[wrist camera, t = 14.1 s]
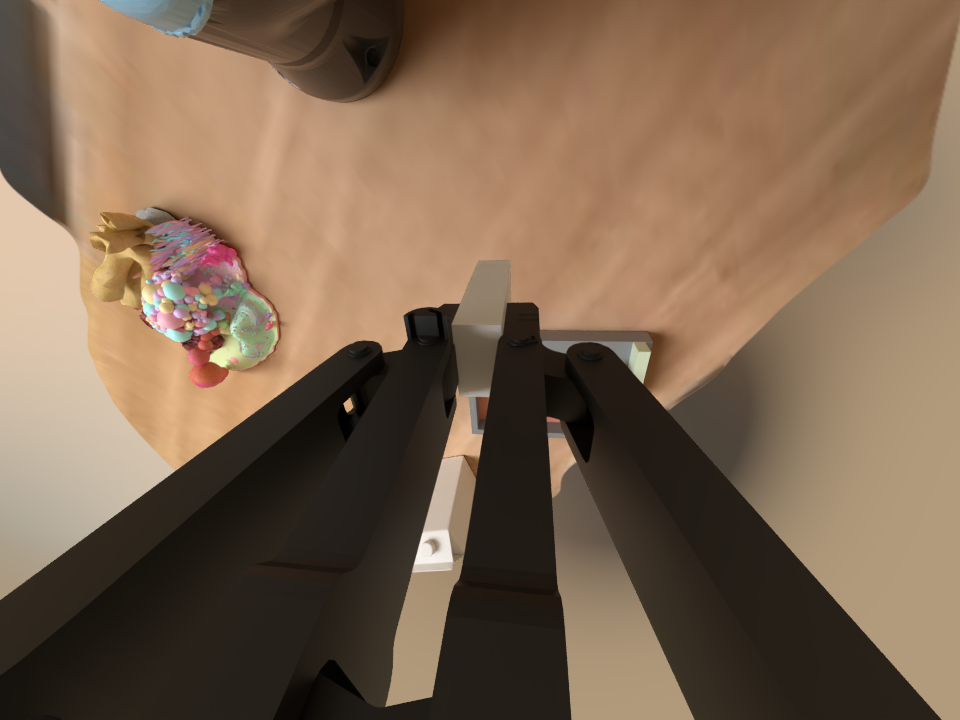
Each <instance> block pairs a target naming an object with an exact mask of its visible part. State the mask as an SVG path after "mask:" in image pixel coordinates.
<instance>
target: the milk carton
mask: <svg viewBox="0 0 960 720" xmlns="http://www.w3.org/2000/svg"><path fill="white" fill-rule="evenodd" d="M475 483H476V478H475V476H474V474H473V473H472V471H471V469H470V467H469V465H468V463H467V461H466V459H465V458H464V456H456V457H450V458H444V459H442V462H441V466H440V469H439V473H438V477H437V481H436V484H435V488H434V492H433V496H432V499H431V503H430V507H429V510H428V514H427V518H426V522H425V525H424V529H423V533H422V537H421V540H420V544H419V548H418V551H417V555H416V559H415V563H414V566H413V570H412V572H427V571H443V570H452V568H453V563H454V562H455V561H456V560H458V559H459V558H461V557H462V556H464V553H465V546H466V540H467V534H468V527H469V521H470V515H471V509H472V502H473V496H474V490H475Z"/></svg>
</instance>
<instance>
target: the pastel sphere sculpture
mask: <svg viewBox="0 0 960 720" xmlns="http://www.w3.org/2000/svg"><path fill="white" fill-rule="evenodd" d="M100 216H101V218H102V220H103V222H104V224H106V225H97V227H98V228H99V229H100V230H101V231H102V232H90V241H91V243H92V246H93V247H94V248H96V249H99V250H101V251H104V252H105V253H106V255H105V258H104V261H103V263H102V265H100V266H99V267H98V268H97V270H96V272H95V273H94V275H93V278H92V281H91V285H90V291H91V292H92V293H93V294H94V295H95V296H96V297H97V298H99V299H100V300H102V301H105V302H112V301H117V300H120V301H121V303H122V304H123V305H126V306H129V307H132V308H134V309H136V310H140V309H142V308H143V310H142V312H141V313H142V314H143V315H140V318H141V319H142V320H143V322H144V323H145V324H146V325H147V326H149V327H150V328H152V329H157V330H158V331H159V332H161V333H165V335H166V336H167V337H169V338H171V339H172V340H174V341H176V342H181V343H182V344H183V345H182V346H183V347H184V348H185V349H186V350H187V351H189V353H188V360H189V362H190V363H192V364H194V367H193V368H192V369H191V371H190V380H191V381H192V382H193V383H194V384H195V385H197V386H198V387H202V388H209V387H213V386H216V385H217V384H219V383H221V382H222V381H223V380H224V379H225V377H227V375H228V374H229V371H228V369H229V370H232V371H235V370H245V369H247V368H252V367H254V366H255V365H257V364H258V363H259V361H263V360H265V359H266V358H267V356H268V355H269V354H271V353H272V352H273V351H274V350H275V345H276V344H277V341H278V340H279V327H278V318H277V312H276V311H275V310H274V308H273V306H272V304H271V303H270V302H269V301H268V300H267V299H266V298H265V297H264V296H262V295H260V294H259V293H258V292H257V291H255V290H253V289H252V288H251V287H250V284H249V283H248V282H247V277H246V271H245V270H244V269H243V267H242V265H241V260H240V258H239V257H238V256H237V253H236V251H235V250H234V249H232V248H228V247H226V246H225V245H222V244H220V243H219V242H221V241H224V239H223V240H220V239H217V240H215V238H213V237H214V236H216V235H215V234H212V235H210V233H208V232H209V231H212V229H208V230H206V229H207V228H206V227H205V228H202V229H201V228H200V227H197V226H199V225H200V224H203V223H198V224H196V225H193V226H190V225H189V224H188V223H189V222H188V221H192V219H189V217H186V218H183V219H180V221H179V220H175V218H174V217H172V216H171V215H169V214H168V213H167V212H164V211H161V210H157V209H154V208H150V207H147V208H146V209H145V210H142V209H139V210H138V211H137V212H136V213H135V216H133V215H127V214H122V213H107V212H101V213H100ZM185 219H189V220H186V221H182V220H185ZM203 230H206V231H204V232H202V231H203Z"/></svg>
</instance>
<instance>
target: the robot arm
mask: <svg viewBox="0 0 960 720" xmlns="http://www.w3.org/2000/svg"><path fill="white" fill-rule="evenodd" d="M99 1H101V2H102V3H104V4H106V5H107V6H109V7H110V8H112V9H114V10H116V11H118V12H120V13H122V14H124V15H126V16H129V17H131V18H133V19H136V20H138V21H140V22H143V23H145V24H147V25H150V26H152V27H153V28H154V29H156V30H158V31H160V32H162V33H164V34H167V35H171V36H175V37H177V38H178V37H179V36H181V37H183V38H185V37H188V38H191V39H194V40H198V41H201V42H204V43H208V44H211V45H214V46H218V47H221V48H224V49H228V50H231V51H234V52H238V53H241V54H244V55H248V56H251V57H255V58H258V59H261V60H265V61H267V62H268V63H269V64H270V65H271V66H272V67H273V68H274V69H275V70H276V71H277V72H278V73H279V74H280V75H281V76H282V77H283V78H284V79H285V80H286V81H288V82H289V83H290V84H292V85H293V86H294V87H296V88H297V89H299V90H301V91H303V92H304V93H306V94H308V95H311V96H313V97H316V98H319V99H323V100H328V101H333V102H352V101H356V100H359V99H362V98H364V97H366V96H368V95H369V94H371V93H372V92H373V91H375V90H376V89H377V88H378V87H379V86H380V85H381V84H382V83H383V81H384V80H385V79H386V77H387V76H388V74H389V72H390V70H391V69H392V67H393V64H394V62H395V60H396V57H397V54H398V50H399V47H400V42H401V37H402V29H403V0H99ZM404 322H405V327H406V332H407V337H408V341H407V342H406V344H405V346H404V347H403V349H402V350H398V351H392V352H386V353H383V351H382V346H381V345H380V344H379V343H377V342H374V341H361V342H360V341H357V342H355V343H353V344H349V345H347V346H346V347H344V348H342V349H341V350H339V351H338V352H337V353H335V354H334V355H333V356H331V357H330V358H328V359H327V360H326V361H324V362H323V363H322V364H320V365H319V366H318V367H316V368H315V369H314V370H312V371H311V372H309V373H308V374H307V375H305V376H304V377H303V378H301V379H300V380H299V381H297V382H296V383H295V384H293V385H292V386H290V387H289V388H288V389H286V390H285V391H284V392H282V393H281V394H280V395H278V396H277V397H276V398H274V399H273V400H271V401H270V402H269V403H267V404H266V405H265V406H263V407H262V408H261V409H259V410H258V411H256V412H255V413H254V414H252V415H251V416H250V417H248V418H247V419H246V420H244V421H243V422H242V423H240V424H239V425H237V426H236V427H235V428H233V429H232V430H231V431H229V432H228V433H227V434H225V435H224V436H223V437H221V438H220V439H218V440H217V441H216V442H214V443H213V444H212V445H210V446H209V447H208V448H206V449H205V450H204V451H202V452H201V453H199V454H198V455H197V456H195V457H194V458H193V459H191V460H190V461H189V462H187V463H186V464H185V465H183V466H182V467H180V468H179V469H178V470H176V471H175V472H174V473H172V474H171V475H170V476H168V477H167V478H165V479H164V480H163V481H162V482H160V483H159V484H157V485H156V486H155V487H153V488H152V489H151V490H149V491H148V492H146V493H145V494H144V495H142V496H141V497H140V498H138V499H137V500H136V501H134V502H133V503H132V504H130V505H129V506H127V507H126V508H125V509H123V510H122V511H121V512H119V513H118V514H117V515H115V516H114V517H113V518H111V519H110V520H108V521H107V522H106V523H104V524H103V525H102V526H100V527H99V528H98V529H96V530H95V531H94V532H92V533H91V534H90V535H88V536H87V537H85V538H84V539H83V540H81V541H80V542H79V543H77V544H76V545H75V546H73V547H72V548H70V549H69V550H68V551H66V552H65V553H64V554H62V555H61V556H60V557H58V558H57V559H56V560H54V561H53V562H51V563H50V564H49V565H47V566H46V567H45V568H43V569H42V570H41V571H39V572H38V573H36V574H35V575H34V576H32V577H31V578H30V579H28V580H27V581H26V582H25V583H23V584H22V585H20V586H19V587H18V588H16V589H15V590H13V591H12V592H11V593H9V594H8V595H7V596H5V597H4V598H3V599H1V600H0V720H571V708H570V694H569V680H568V666H567V652H566V639H565V626H564V616H563V606H562V600H561V596H560V594H559V591H558V585H557V574H556V558H555V544H554V543H555V542H554V526H553V510H552V493H551V477H550V461H549V445H548V429H547V417H551V418H554V419H558V420H560V426H561V429H562V431H563V433H564V435H565V438H566V440H567V442H568V444H569V446H570V448H571V451H572V453H573V455H574V457H575V459H576V462H577V463H578V466H579V468H580V470H581V472H582V475H583V477H584V479H585V481H586V483H587V486H588V488H589V490H590V492H591V494H592V496H593V499H594V501H595V503H596V505H597V507H598V510H599V512H600V514H601V516H602V518H603V520H604V523H605V525H606V527H607V529H608V531H609V534H610V536H611V538H612V540H613V542H614V545H615V547H616V549H617V551H618V553H619V555H620V558H621V560H622V562H623V564H624V566H625V569H626V571H627V573H628V575H629V577H630V580H631V582H632V584H633V586H634V588H635V590H636V593H637V595H638V597H639V599H640V601H641V603H642V606H643V608H644V610H645V612H646V614H647V617H648V619H649V621H650V623H651V625H652V627H653V630H654V632H655V634H656V636H657V638H658V640H659V643H660V645H661V647H662V649H663V652H664V654H665V656H666V658H667V660H668V663H669V665H670V667H671V669H672V671H673V673H674V675H675V678H676V680H677V682H678V684H679V686H680V689H681V691H682V693H683V695H684V697H685V700H686V702H687V704H688V706H689V708H690V711H691V713H692V715H693V717H694V719H695V720H941V719H940V717H939V716H938V715H937V714H936V713H935V712H934V711H933V710H932V708H931V707H930V706H929V705H928V704H927V703H926V702H925V701H924V700H923V698H922V697H921V696H920V695H919V694H918V693H917V692H916V690H915V689H914V688H913V687H912V686H911V685H910V684H909V683H908V681H907V680H906V679H905V678H904V677H903V676H902V675H901V674H900V672H899V671H898V670H897V669H896V668H895V667H894V666H893V665H892V663H891V662H890V661H889V660H888V659H887V658H886V657H885V656H884V654H883V653H881V651H880V650H879V649H878V648H877V647H876V645H875V644H874V643H873V642H872V641H871V640H870V639H869V638H868V637H867V635H866V634H865V633H864V632H863V631H862V630H861V629H860V627H859V626H858V625H857V624H856V623H855V622H854V621H853V620H852V618H851V617H850V616H849V615H848V614H847V613H846V612H845V611H844V610H843V609H842V607H841V606H840V605H839V604H838V603H837V602H836V601H835V599H834V598H833V597H832V596H831V595H830V594H829V593H828V592H827V591H826V589H825V588H824V587H823V586H822V585H821V584H820V583H819V581H818V580H817V579H816V578H815V577H814V576H813V575H812V574H811V573H810V571H809V570H808V569H807V568H806V567H805V566H804V565H803V563H802V562H801V561H800V560H799V559H798V558H797V557H796V556H795V555H794V553H793V552H792V551H791V550H790V549H789V548H788V547H787V545H786V544H785V543H784V542H783V541H782V540H781V539H780V538H779V537H778V535H777V534H776V533H775V532H774V531H773V530H772V529H771V527H769V525H768V524H767V523H766V522H765V521H764V520H763V518H762V517H761V516H760V515H759V514H758V513H757V512H756V511H755V509H754V508H753V507H752V506H751V505H750V504H749V503H748V502H747V500H746V499H745V498H744V497H743V496H742V495H741V494H740V493H739V492H738V490H737V489H736V488H735V487H734V486H733V485H732V484H731V483H730V481H729V480H728V479H727V478H726V477H725V476H724V475H723V473H722V472H721V471H720V470H719V469H718V468H717V467H716V466H715V465H714V463H713V462H712V461H711V460H710V459H709V458H708V457H707V455H706V454H705V453H704V452H703V451H702V450H701V449H700V448H699V447H698V445H697V444H696V443H695V442H694V441H693V440H692V439H691V438H690V437H689V435H688V434H687V433H686V432H685V431H684V430H683V429H682V427H681V426H680V425H679V424H678V423H677V422H676V421H675V420H674V418H673V417H672V416H671V415H670V414H669V413H668V412H667V411H666V409H665V408H664V407H663V406H662V405H661V404H660V403H659V402H658V400H657V399H656V398H655V397H654V396H653V395H652V394H651V393H650V391H649V390H648V389H647V388H646V387H645V386H644V385H643V384H642V382H641V381H640V380H639V379H638V378H637V377H636V376H635V375H634V373H633V372H632V371H631V370H630V369H629V368H628V367H627V366H626V364H625V363H624V362H623V361H622V360H621V359H620V358H619V357H618V355H617V354H616V353H615V352H614V351H613V350H611V349H610V348H609V347H607V346H604V345H602V344H599V343H594V342H581V343H577V344H574V345H572V346H570V347H569V348H568V350H567V351H566V353H561V352H557V351H553V350H551V349H549V348H547V347H545V346H544V345H543V344H542V340H541V338H540V326H539V309H538V307H537V306H536V305H535V304H534V303H511V260H491V261H478V263H477V265H476V268H475V270H474V272H473V275H472V277H471V279H470V282H469V284H468V287H467V289H466V291H465V294H464V296H463V298H462V301H461V303H460V304H443V305H442V306H440V307H439V308H433V307H426V308H419V309H415V310H412V311H410V312H408V313H406V314H405V315H404ZM457 386H458V389H459V396H470V397H489V401H488V408H487V414H486V420H485V427H484V433H483V439H482V446H481V452H480V458H479V464H478V471H477V477H476V483H475V490H474V496H473V502H472V509H471V515H470V521H469V527H468V534H467V540H466V546H465V553H464V559H463V565H462V570H461V575H460V578H459V580H458V582H457V583H456V584H455V585H454V588H453V591H452V594H451V597H450V602H449V607H448V611H447V616H446V622H445V628H444V633H443V639H442V645H441V651H440V656H439V662H438V668H437V673H436V679H435V685H434V690H433V696H432V697H430V698H425V699H421V700H416V701H411V702H406V703H402V704H397V705H392V706H387V707H385V705H386V701H387V697H388V692H389V688H390V682H391V676H392V668H393V646H394V639H395V634H396V629H397V626H398V622H399V618H400V615H401V611H402V607H403V603H404V600H405V596H406V592H407V589H408V585H409V581H410V577H411V574H412V570H413V566H414V563H415V559H416V555H417V551H418V548H419V544H420V540H421V537H422V533H423V529H424V525H425V522H426V518H427V514H428V510H429V507H430V503H431V499H432V496H433V492H434V488H435V484H436V481H437V477H438V473H439V469H440V466H441V462H442V458H443V455H444V451H445V447H446V443H447V440H448V436H449V432H450V428H451V425H452V421H453V417H454V414H455V410H456V406H457V403H456V389H457ZM349 398H351V401H352V404H353V407H354V408H353V409H352V410H351V411H349V412H346V410H345V407H344V405H343V403H344V402H345V401H347V400H348V399H349Z"/></svg>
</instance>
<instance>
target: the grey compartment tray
mask: <svg viewBox="0 0 960 720" xmlns="http://www.w3.org/2000/svg"><path fill="white" fill-rule="evenodd" d="M540 338H541V340H542V344H543V345H544V346H545V347H547V348H549V349H551V350H553V351H557V352H561V353H566V351H567V350H568V348H569V347H570V346H572V345H574V344H577V343H581V342H594V343H599V344H602V345H604V346H607V347H609V348H610V349H611V350H613V351H614V352H615V353H616V354H617V355H618V357H619V358H620V359H621V360H622V361H623V362H624V363H625V364H626V366H627V367H628V368H629V369H630V370H631V371H632V372H633V373H634V375H635V376H636V377H637V378H638V379H639V380H640V381H641V382H642V384H643V382H644V378H645V374H646V370H647V366H648V362H649V358H650V354H651V350H652V346H653V341H652V339H651V337H650V336H649V334H648V333H647V331H541V330H540ZM488 401H489V397H470V396H469V403H470V414H471V425H472V434H483V433H484V427H485V420H486V414H487V408H488ZM547 429H548V437H551V438H565V435H564V433H563V431H562V429H561V426H560V420H558V419H554V418H551V417H547Z"/></svg>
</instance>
